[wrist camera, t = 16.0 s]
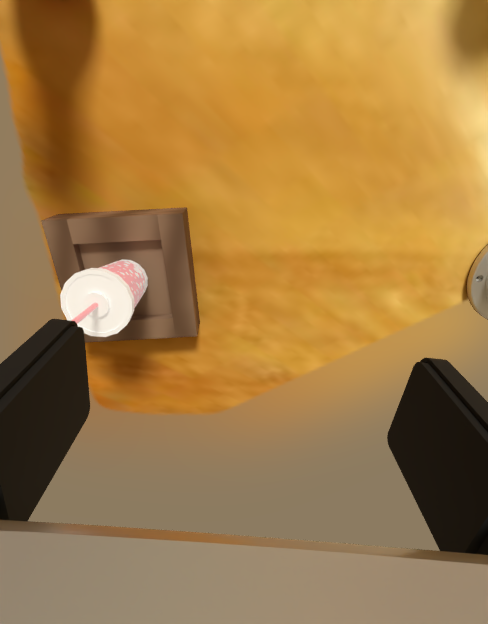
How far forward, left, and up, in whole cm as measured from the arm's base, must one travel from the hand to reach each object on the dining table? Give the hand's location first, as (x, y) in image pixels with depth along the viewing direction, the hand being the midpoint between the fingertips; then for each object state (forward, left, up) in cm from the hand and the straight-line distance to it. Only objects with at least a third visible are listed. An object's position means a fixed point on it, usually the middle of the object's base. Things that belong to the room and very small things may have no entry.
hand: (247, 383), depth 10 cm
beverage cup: (+13, +7, -29) cm, 32 cm away
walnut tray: (+12, +7, -32) cm, 35 cm away
